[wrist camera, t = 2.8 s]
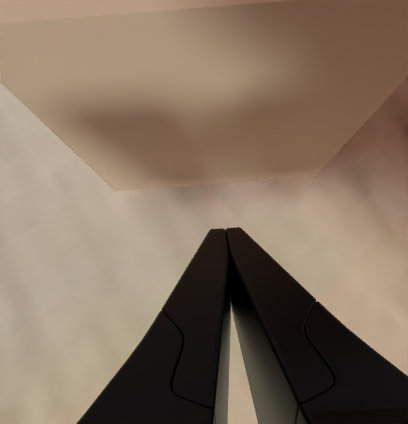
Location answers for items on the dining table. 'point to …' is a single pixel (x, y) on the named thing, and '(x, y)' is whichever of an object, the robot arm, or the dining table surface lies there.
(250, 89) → the tile
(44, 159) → the dining table surface
